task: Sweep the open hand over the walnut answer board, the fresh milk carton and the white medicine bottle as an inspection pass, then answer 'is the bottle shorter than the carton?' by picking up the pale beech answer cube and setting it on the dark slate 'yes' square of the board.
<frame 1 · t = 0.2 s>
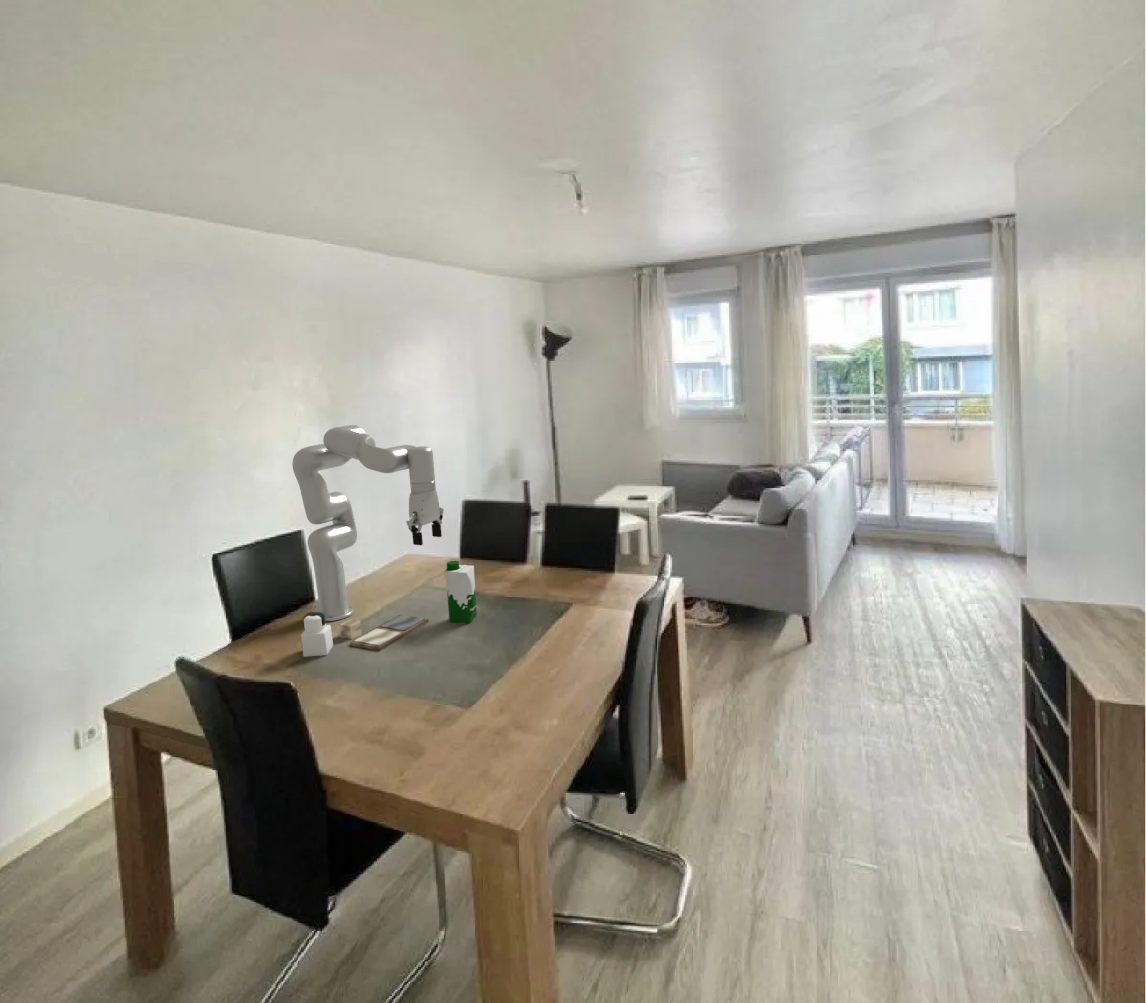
hand: (427, 540, 207), 31 cm above the table, fingers open, 9 cm apart
medicine bottle: (318, 652, 202), on the table
fresh milk carton: (463, 619, 223), on the table
answer board: (390, 633, 214), on the table
answer cube: (351, 635, 213), on the table
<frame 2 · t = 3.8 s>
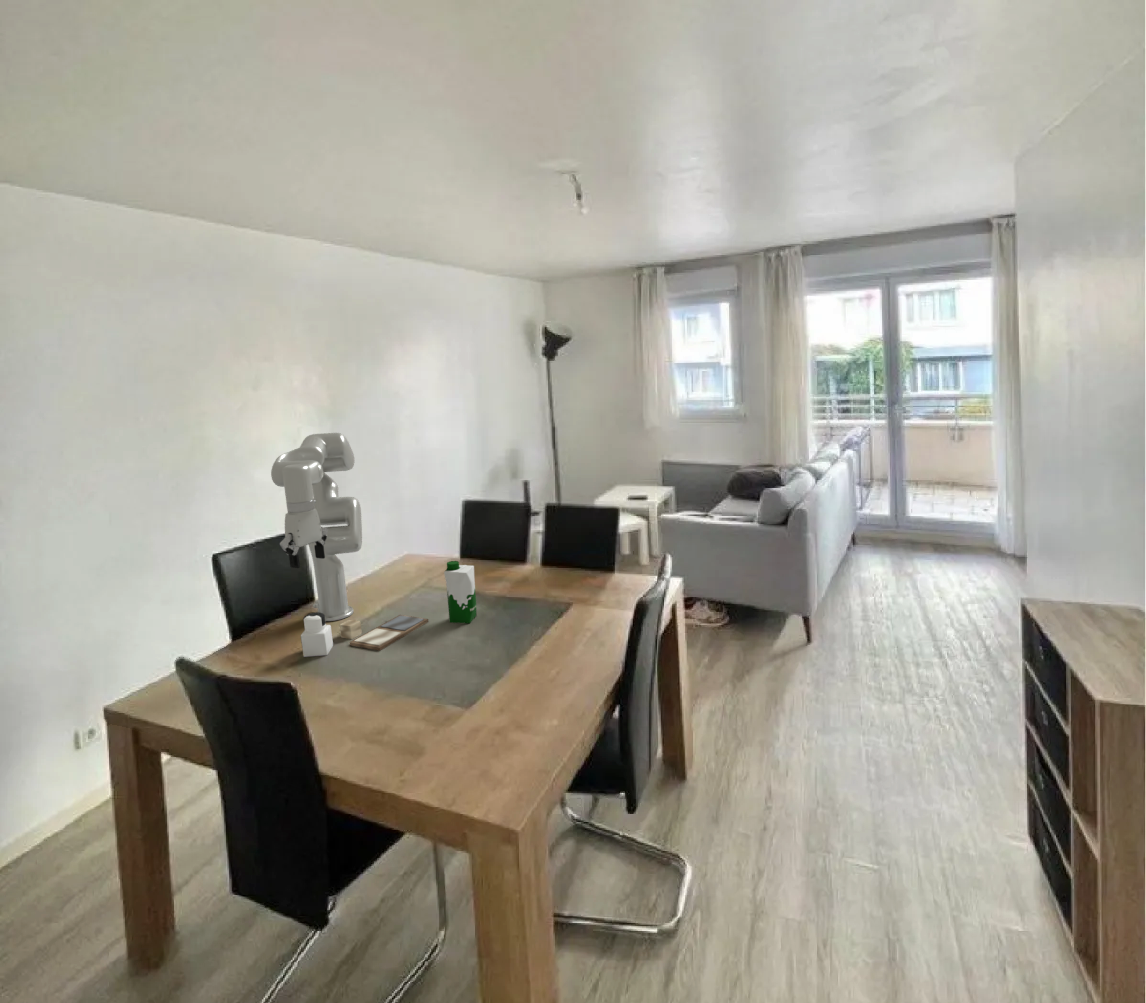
hand: (308, 562, 196), 28 cm above the table, fingers open, 9 cm apart
nothing on the table moved.
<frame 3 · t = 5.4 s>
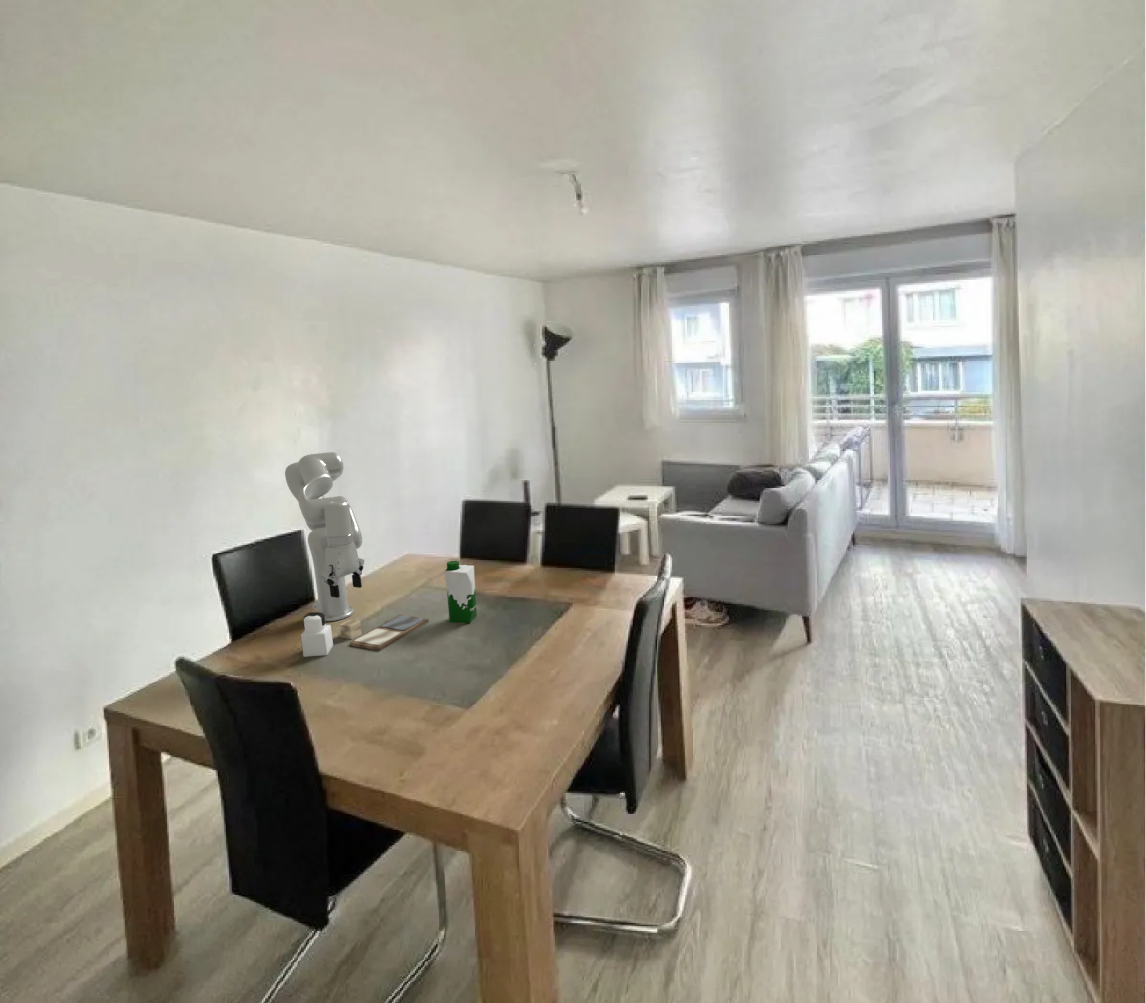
hand: (346, 592, 210), 15 cm above the table, fingers open, 9 cm apart
nothing on the table moved.
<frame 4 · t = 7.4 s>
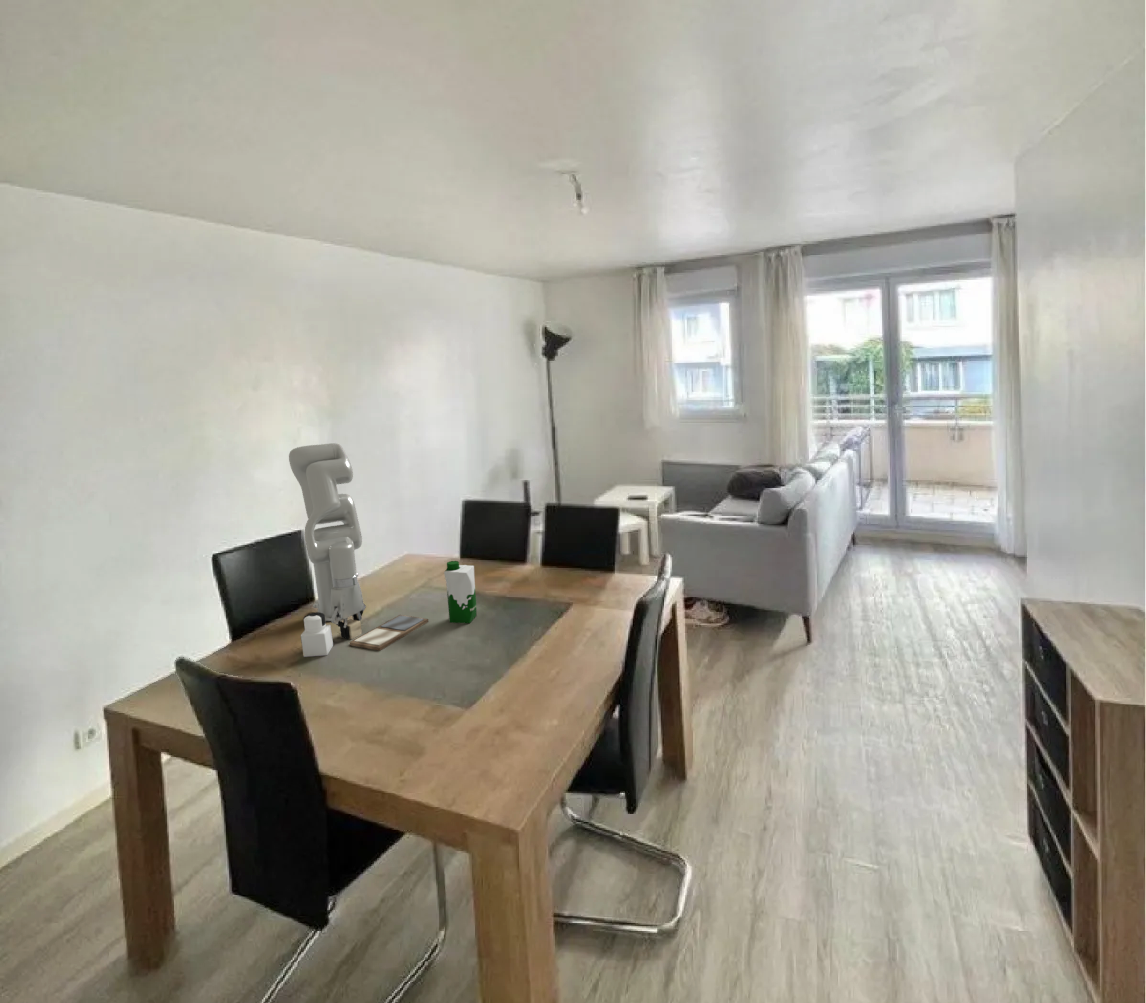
hand: (351, 634, 213), 0 cm above the table, fingers closed on answer cube, 4 cm apart
answer cube: (351, 635, 213), on the table, touching gripper
everything else where it was.
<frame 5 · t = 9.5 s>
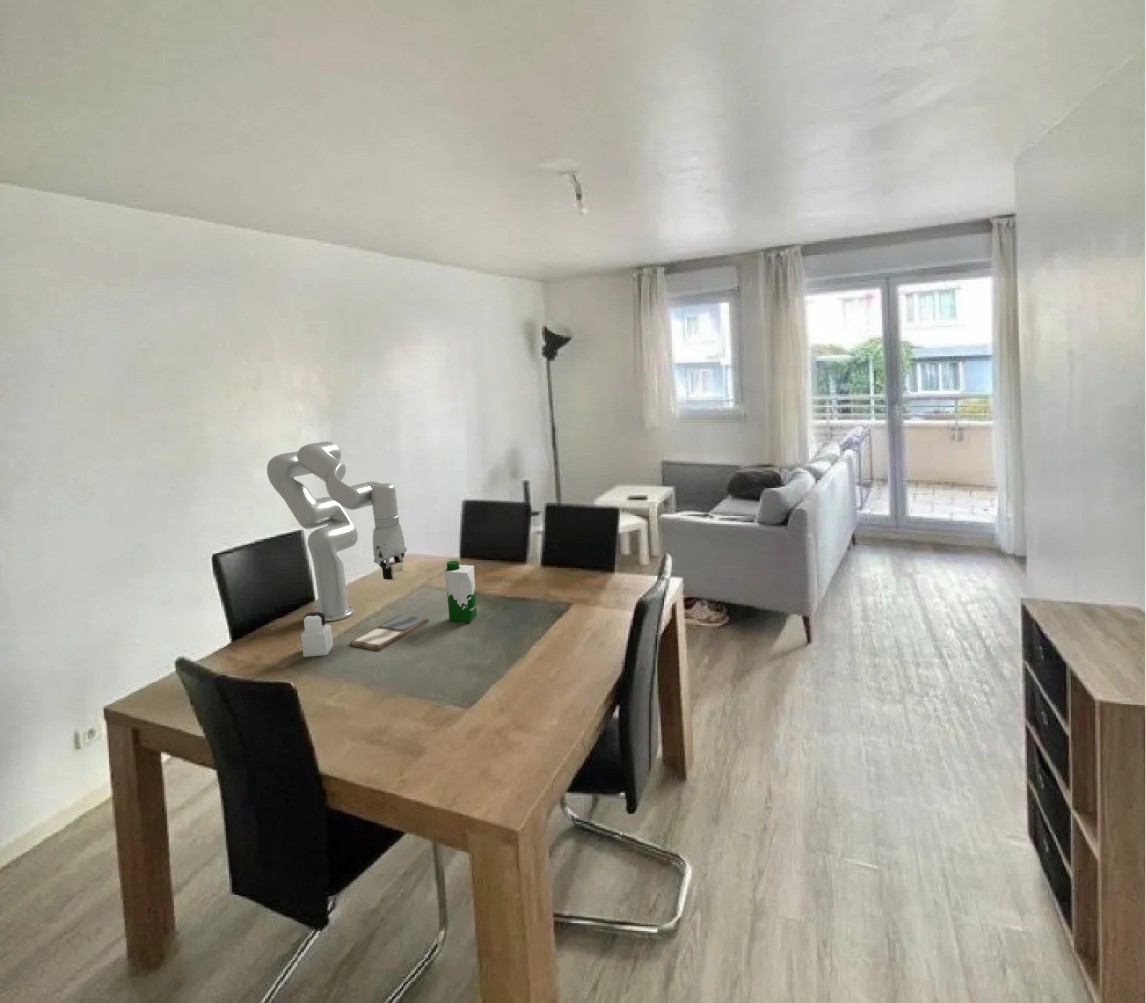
hand: (393, 576, 215), 18 cm above the table, fingers closed on answer cube, 4 cm apart
answer cube: (393, 577, 215), point 17 cm above the table, touching gripper
everything else where it was.
when the fingers open (3 cm above the table, at t = 11.6 s): answer cube drops 2 cm, resting on answer board.
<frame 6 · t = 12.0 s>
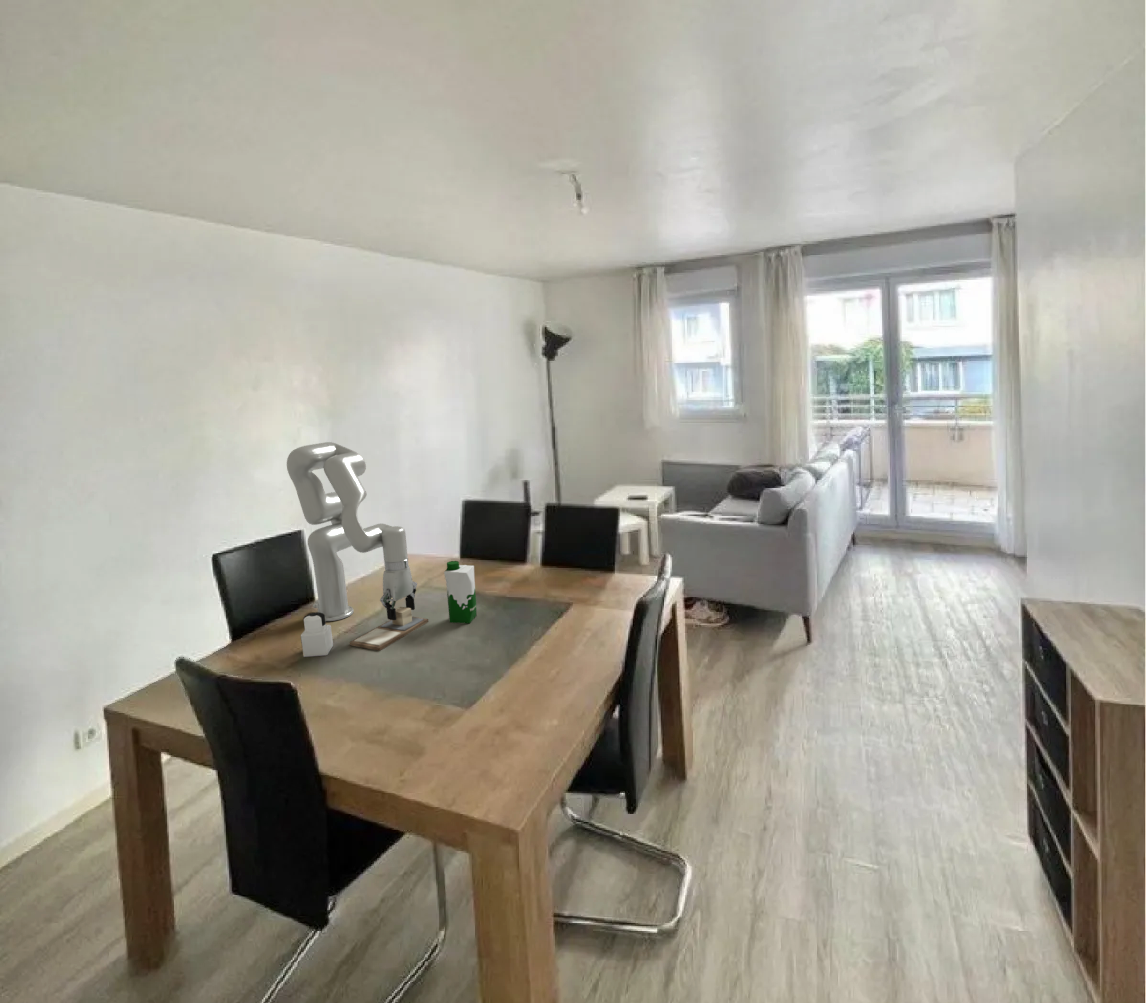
hand: (401, 614, 218), 4 cm above the table, fingers open, 9 cm apart
answer cube: (402, 622, 219), point 1 cm above the table, touching answer board
everything else where it was.
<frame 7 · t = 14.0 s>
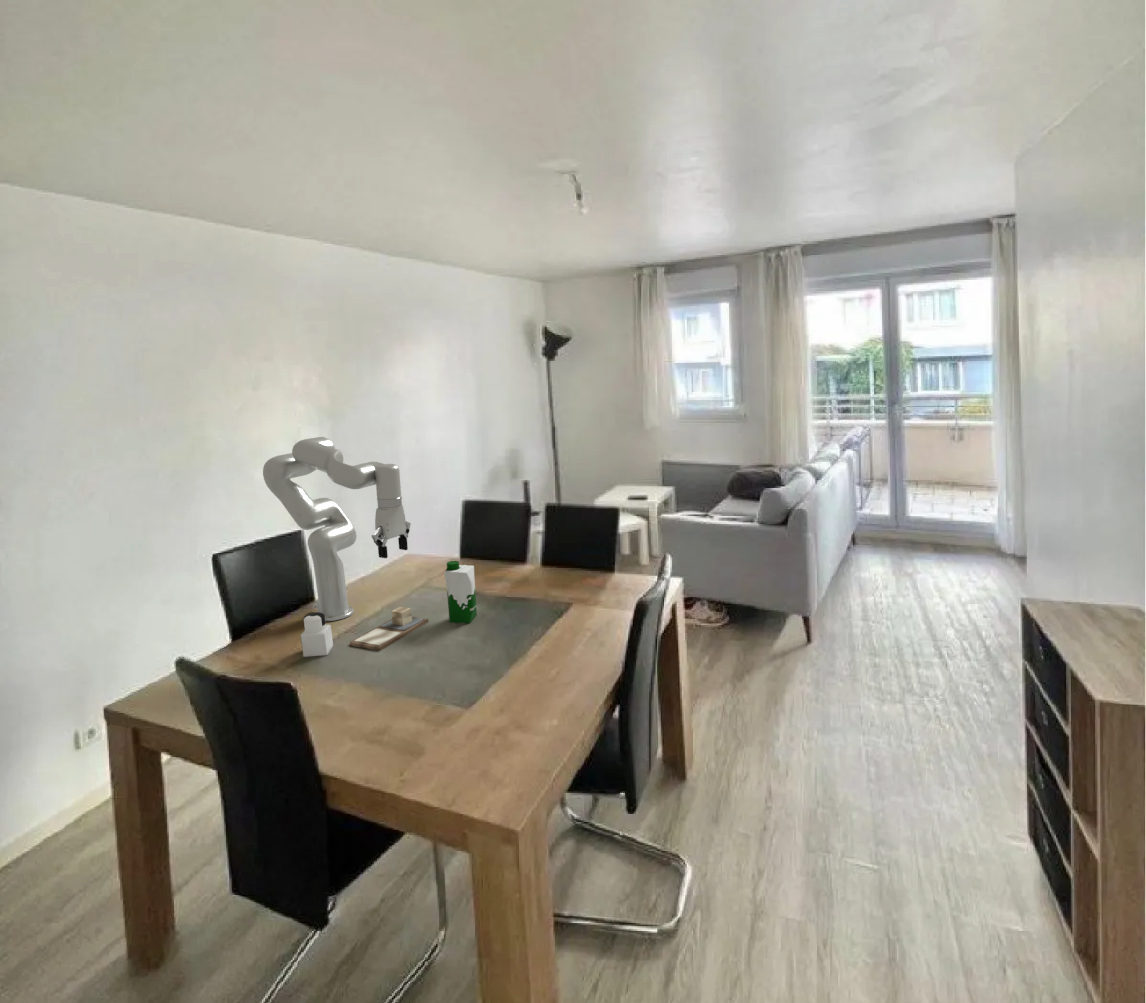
hand: (393, 553, 216), 25 cm above the table, fingers open, 9 cm apart
nothing on the table moved.
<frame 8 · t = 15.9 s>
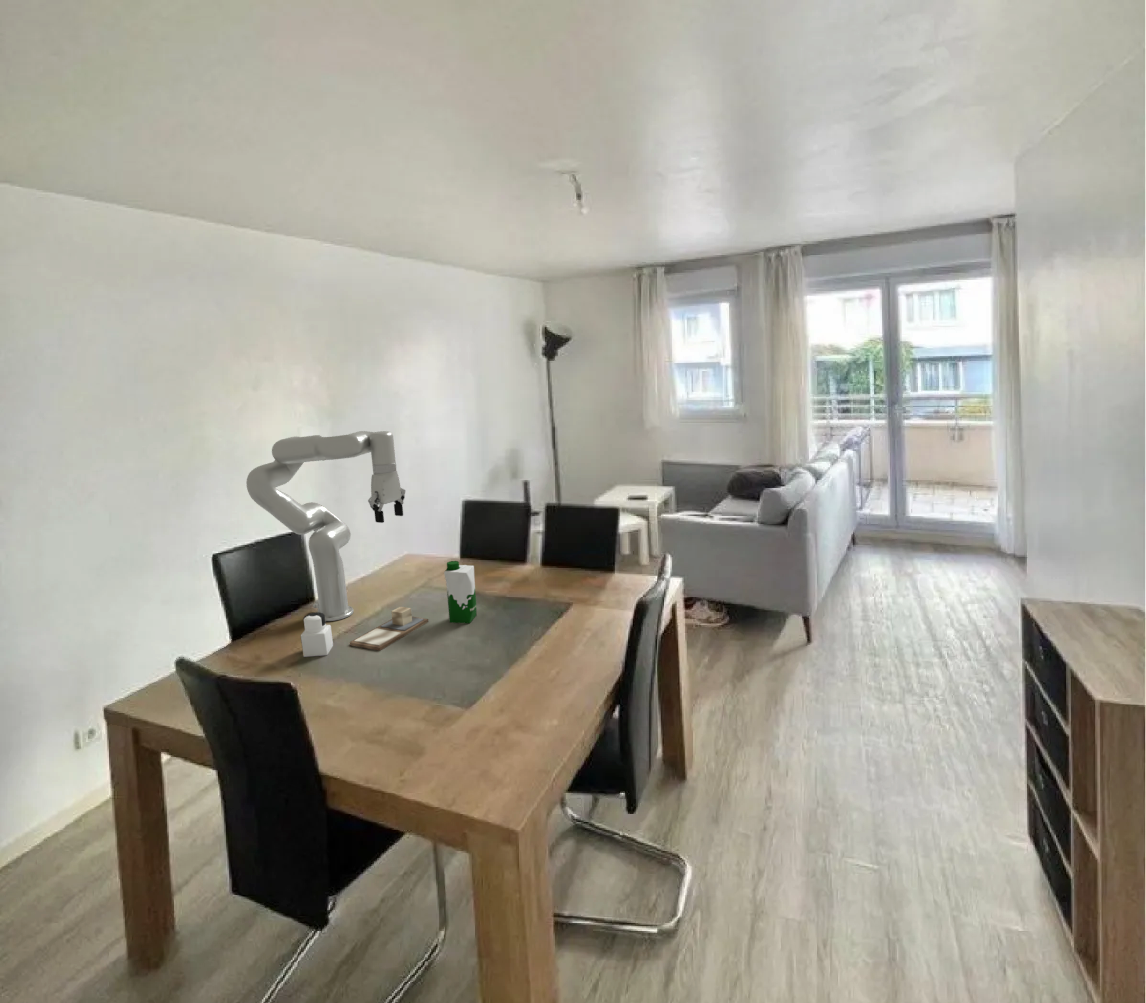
hand: (389, 518, 222), 34 cm above the table, fingers open, 9 cm apart
nothing on the table moved.
at the end: answer cube inside the target area on the answer board (0.0 cm from its centre), point 1.3 cm above the answer board's base; answer cube tilted 0°; the gripper is holding nothing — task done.
